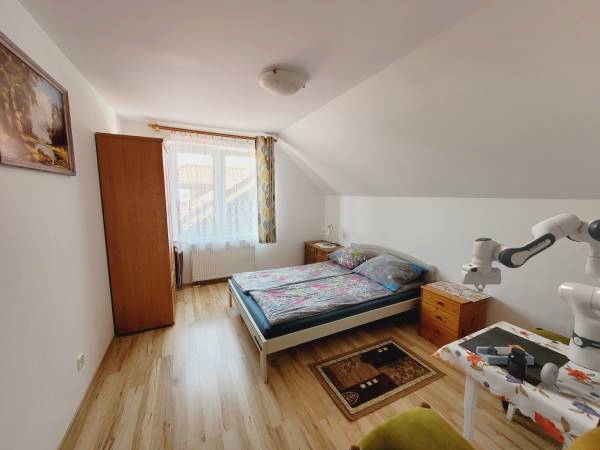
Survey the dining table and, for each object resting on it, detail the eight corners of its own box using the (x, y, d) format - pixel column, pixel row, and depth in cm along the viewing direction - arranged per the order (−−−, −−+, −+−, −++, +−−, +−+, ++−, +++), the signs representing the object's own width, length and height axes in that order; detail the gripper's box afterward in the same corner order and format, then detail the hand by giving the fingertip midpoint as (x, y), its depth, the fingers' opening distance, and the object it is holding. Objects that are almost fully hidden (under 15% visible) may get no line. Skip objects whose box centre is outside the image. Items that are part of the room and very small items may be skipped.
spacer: (516, 354, 124) (517, 345, 123) (524, 359, 119) (525, 350, 119) (508, 353, 124) (508, 345, 123) (515, 359, 119) (516, 350, 119)
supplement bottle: (530, 380, 107) (532, 356, 106) (512, 378, 109) (514, 354, 107) (519, 369, 114) (521, 346, 112) (503, 368, 115) (505, 345, 114)
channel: (518, 352, 126) (518, 346, 126) (534, 364, 117) (534, 358, 117) (475, 352, 127) (476, 346, 127) (488, 364, 118) (488, 357, 118)
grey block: (507, 353, 124) (508, 344, 123) (515, 359, 119) (516, 350, 119) (487, 353, 124) (488, 344, 124) (494, 358, 120) (495, 350, 119)
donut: (548, 391, 101) (550, 369, 100) (537, 385, 104) (539, 364, 103) (559, 383, 105) (561, 363, 104) (548, 378, 108) (551, 358, 107)
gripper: (496, 265, 132) (494, 289, 133) (458, 265, 133) (457, 289, 134) (505, 269, 125) (503, 293, 127) (466, 269, 126) (464, 293, 128)
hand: (479, 291), depth 131 cm, fingers closed
